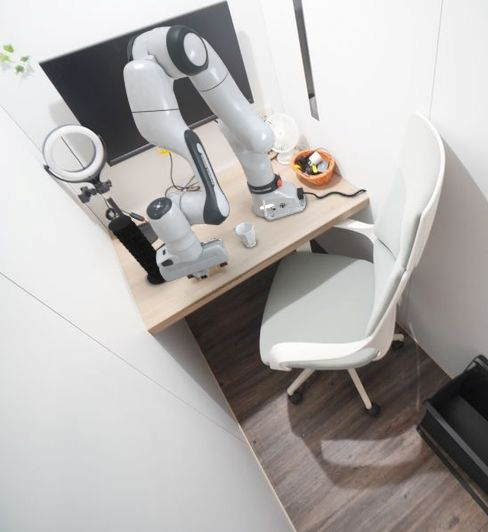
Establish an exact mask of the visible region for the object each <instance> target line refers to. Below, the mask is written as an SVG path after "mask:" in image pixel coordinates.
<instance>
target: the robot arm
mask: <svg viewBox="0 0 488 532" xmlns="http://www.w3.org/2000/svg"><path fill="white" fill-rule="evenodd" d="M126 53H127V54H126V55H127V63H126V64H125V66H124V68H123V80H124V86H125V92H126V96H127V100H128V104H129V107H130V110H131V113H132V117H133V120H134V123H135V125H136V128H137V130H138V131H139V133H140V135H141V137H143V139H145V140H146V141H147V142H148V143H150V144H152V145H153V146H155V147H158V148H159V149H163V150H166V151H169V152H171V153H173V154H176V155H178V156H180V157H181V158H183V159H184V160H185V161H186V162H187V163H188V164H189V166H190V168H191V170H192V173H193V174H194V177H195V180H196V182H197V184H198V186H199V188H200V190H192V191H191V190H181V191H172V192H169V193H168V194H167V195H166V196H162V197H161V196H160V197H158V198H155V199H154V200H152V201H150V203H149V204H148V205H147V207H146V210H145V214H146V219H147V221H148V223H149V225H150V227H151V228H152V230H153V232H154V233H155V235H156V236H157V237H158V239H159V240H160V241H162V242H163V244H164V243H165V245H164V246H163V247H162V248H160V249H159V250H157V249H156V250H157V253H156V261H157V265H158V267H159V268H160V273H161V275H162V276H163V278H164V279H165V280H166V282H173V281H177V280H178V279H179V280H180V279H181V278H184V277H187V275H190V274H192V275H193V276H196V277H199V278H200V280H199V281H201V280H205V279H207V278H210V276H209V273H208V270H209V269H208V268H210V267H213V266H216V265H218V264H221V263H224V262H227V263H228V262H229V259H230V254H229V252H228V250H227V248H226V247H225V243H224V241H223V239H221V238H216V237H214V238H213V237H212V238H211V239H208V240H205V241H202V242H201V241H200V239H199V237H198V235H197V233H196V232H195V231H194V230H193V229H192V227H193V225H208V226H220V225H222V224H223V223H224V222H225V221H226V220H227V219H228V217H229V216H230V212H231V207H230V203H229V200H228V198H227V196H226V194H225V193H224V191H223V189H222V187H221V185H220V182H219V180H218V178H217V175H216V172H215V170H214V168H213V165H212V163H211V161H210V158H209V156H208V154H207V153H208V152H207V151H206V149H205V146H204V145H203V142H202V140H201V139H200V137H199V135H198V133H196V132H195V131H193V130H192V129H190V128H189V126H188V125H187V123H186V122H185V120H184V118H183V115H182V114H181V111H180V109H179V104H178V101H177V98H176V95H175V91H174V81H175V80H179V79H182V78H186V77H188V79H189V80H190V82H191V83H192V85H193V87H195V90H196V91H197V92H198V93H199V95H200V96H201V97H202V99H203V100H204V102H205V103H206V105H207V106H208V107H209V109H210V110H211V112H212V113H213V114H214V115H215V116H216V117H217V118H218V120H217V125H218V129H219V132H220V133H221V134H222V136H223V137H224V138H225V140H226V141H227V143H228V145H229V146H230V148H231V150H232V152H233V153H234V155H235V157H236V159H237V160H238V162H239V164H240V166H241V168H242V171H243V173H244V176H245V178H246V179H245V180H246V185H247V188H248V191H249V193H250V195H251V196H252V203H253V211H254V214H255V215H257V216H258V217H261V218H265V220H267V221H273V220H278V219H280V218H284V217H287V216H290V215H293V214H297V213H300V212H302V211H304V209H305V207H306V204H307V200H306V196H305V195H312V196H314V197H315V198H317V199H325V198H326V197H328V196H330V195H333V194H338V195H341V196H344V197H354V196H356V195H358V194H359V193H361V192H367V189H365V188H361V189H359V190H358V191H356V192H354V193H352V194H347V193H343V192H341V191H336V190H335V191H330V192H328V193H326V194H324V195H321V196H318V194H316V193H314V192H311V191H304V188H303V186H302V187H296V185H295V184H294V183H292V182H288V181H286V180H282V177H281V174H280V172H278V174H277V173H275V171H274V168H273V164H272V161H271V157H270V155H269V154H268V153H269V152H270V151H272V149H273V148H274V146H275V143H276V134H275V132H274V130H273V128H271V126H270V125H268V124H267V122H266V121H265V120H264V119H263V118H262V117H261V115H260V113H258V111H257V110H256V109H255V108H254V107H253V105H252V104H251V103H250V102H249V100H248V99H247V98H246V97H245V95H244V94H243V93H242V91H241V90H240V88H239V86H238V85H237V83H236V81H235V79H234V78H233V76H232V74H231V73H230V71H229V70H228V68H227V66H226V64H225V63H224V62H223V60H222V59H221V57H220V56H219V54H218V53H217V52H216V51H215V50H214V48H213V46H212V45H210V43H209V42H208V41H207V40H206V39H204V38H203V37H202V36H201V35H200V34H199V33H198V32H197V31H196V30H195V29H193V28H192V27H190V26H186V25H182V24H174V25H172V26H160V27H155V28H152V29H151V30H148V31H145V32H140V33H137V34H136V35H134V36H133V37H132V38H131V39H130V40H129V41H128V43H127V48H126ZM201 270H204V271H203V272H199V271H201Z"/></svg>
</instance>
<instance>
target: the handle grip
mask: <svg viewBox="0 0 488 532" xmlns="http://www.w3.org/2000/svg"><path fill="white" fill-rule="evenodd" d="M107 228H108V230H109V231H111V232H112V234H113V235H114V236H115V237H116V239H117V240H118V241H119V242H120V243H121V244H122V246H123V247H124V248H125V249H126V250H127V251H128V253H129V254H130V255H131V256H132V257H133V258H134V260H135V261H136V262H137V263H138V264H139V265H140V266H141V267H142V269H144V271H145V272H146V274H147V275H146V280H147V282H148V283H149V284H151V285H162V284H163V283H166V282H167V281H166V280H165V279H164V278H163V276H162V275H161V273H160V268H159V267H158V265H157V261H156V253H157V251H156V250H157V249H155V246H153V244H152V243H151V242H150V240H149V239H148V238H147V236H145V233H143V232H142V230H141V229H140V228H139V226H138V225H137V223H136V222H135V221H134V220H133V219H132V217H131V216H130V215H126V214H125V215H120V216H117V217H115V218H113V219H111V221H110V222H109V223H108V225H107Z"/></svg>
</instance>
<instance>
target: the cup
mask: <svg viewBox="0 0 488 532" xmlns="http://www.w3.org/2000/svg"><path fill="white" fill-rule="evenodd" d="M232 229H233V232H234V234H235V235H236V237H238V238H239V239H240V240H241V241H242V243H243V244H244V245H245V247H246V248H252V247H255V246H256V245H257V240H256V237H257V236H256V231H255V227H254V224H252V223H251V222H250V221H243V222H241V223H240V224H238V225H234V226H233V228H232Z"/></svg>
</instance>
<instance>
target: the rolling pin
mask: <svg viewBox="0 0 488 532" xmlns="http://www.w3.org/2000/svg"><path fill="white" fill-rule="evenodd" d="M228 265H229V263H228V261H227V262H224V263H221V264H218V265H216V266H213V267H210V268H208V269H209V270H208V273H209V277H210V276H213V275H215V274H219V273H221V272H223V271H224V270H223V269H224V267H226V266H228ZM203 271H204V270H201V271H199V272H203ZM186 277H187V279H188V280H191V279H195V280H196V281H201V280H200V278H199V277H196V276H193V275H192V274H190V275H187V276H186Z"/></svg>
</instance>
